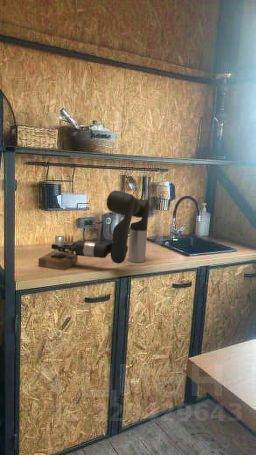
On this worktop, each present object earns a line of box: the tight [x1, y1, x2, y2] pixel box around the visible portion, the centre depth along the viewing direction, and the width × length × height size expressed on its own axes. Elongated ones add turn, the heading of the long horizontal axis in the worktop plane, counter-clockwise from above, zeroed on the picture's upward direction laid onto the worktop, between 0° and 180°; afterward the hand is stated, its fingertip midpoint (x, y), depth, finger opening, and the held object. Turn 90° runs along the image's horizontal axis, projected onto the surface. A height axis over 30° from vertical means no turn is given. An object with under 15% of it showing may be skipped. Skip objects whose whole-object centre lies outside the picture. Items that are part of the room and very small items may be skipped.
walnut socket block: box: [38, 250, 79, 271], centre depth 185 cm, size 16×14×4 cm
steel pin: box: [54, 235, 65, 259], centre depth 184 cm, size 5×5×14 cm
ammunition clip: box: [53, 234, 75, 254], centre depth 198 cm, size 11×2×12 cm, turn 116°
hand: (54, 245), depth 184 cm, fingers open, 5 cm apart
